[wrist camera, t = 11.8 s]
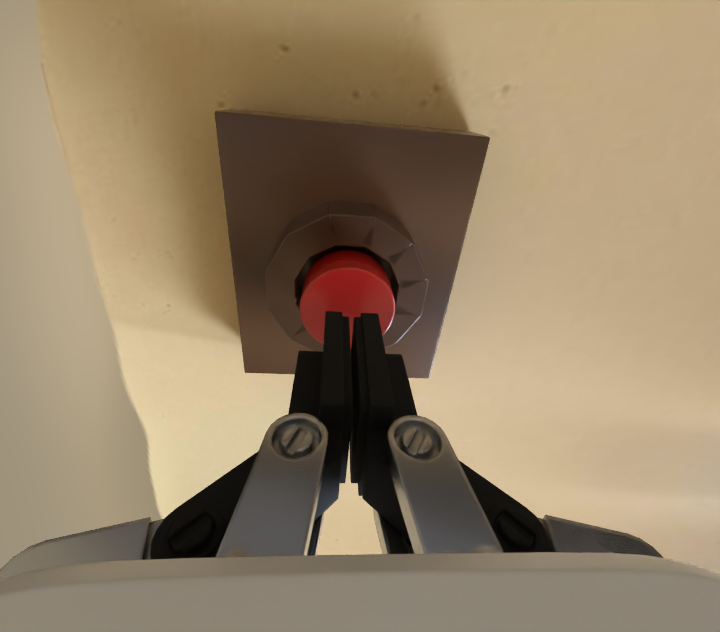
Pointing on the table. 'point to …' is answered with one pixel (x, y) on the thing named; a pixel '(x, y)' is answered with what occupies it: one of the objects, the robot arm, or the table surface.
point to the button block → (343, 222)
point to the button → (345, 291)
